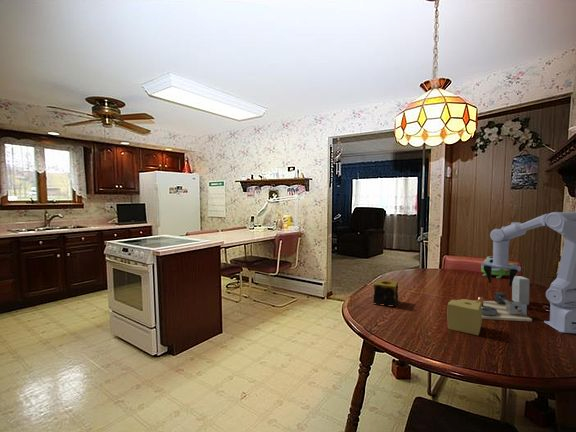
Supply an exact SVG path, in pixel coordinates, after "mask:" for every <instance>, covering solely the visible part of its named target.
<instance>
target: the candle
mask: <svg viewBox="0 0 576 432" xmlns="http://www.w3.org/2000/svg"><path fill="white" fill-rule="evenodd" d="M398 288H399V281H396V280H389V279H388V280H386V279H377V280H376V281H375V282H374V283H373V290H374V292H373V301H372V302H373V303H376V304H384V305H393V306H395V305H396V303H397V304H398V302H399V293H398V292H399V291H398V290H399V289H398ZM397 301H398V302H397ZM373 303H372V304H373ZM396 306H397V305H396Z"/></svg>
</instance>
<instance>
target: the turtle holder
mask: <svg viewBox="0 0 576 432" xmlns="http://www.w3.org/2000/svg"><path fill="white" fill-rule="evenodd" d="M482 262H490V263H493V255H491V256H490V255H489V256H488V255H487V257H486V258H485V259H484V260H483V261H482ZM508 264H509V265H515V266H517V264H516V262H509V263H508ZM480 267H481V266H480ZM480 271H481V273H483V274H482V276H483V277H487V274H486V272H485V271H484V267H481V269H480ZM491 276H496V277H495V278H496V279H501V278H502V277H503V276H510V270H508V269H500V268H492V272H491Z"/></svg>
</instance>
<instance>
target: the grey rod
mask: <svg viewBox="0 0 576 432" xmlns="http://www.w3.org/2000/svg"><path fill="white" fill-rule="evenodd" d="M494 301H495V302H496V303H498V304H506V301H509V300H508V299H507V295H506V293H504V292H503V291H502V292H501V291H495V292H494Z"/></svg>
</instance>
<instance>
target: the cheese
mask: <svg viewBox="0 0 576 432" xmlns="http://www.w3.org/2000/svg"><path fill="white" fill-rule="evenodd" d="M477 301H478V300H475V301H473V300H471V299H465V298H464V299H463V298H461V299H451V300H450V301H448V303H447V310H446V319H447V328H448V330H452V331H456V332H460V333H464V334H470V335H473V336H479V335H480V332H481V327H482V321H483V319H482V303H481V302H477Z"/></svg>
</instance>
